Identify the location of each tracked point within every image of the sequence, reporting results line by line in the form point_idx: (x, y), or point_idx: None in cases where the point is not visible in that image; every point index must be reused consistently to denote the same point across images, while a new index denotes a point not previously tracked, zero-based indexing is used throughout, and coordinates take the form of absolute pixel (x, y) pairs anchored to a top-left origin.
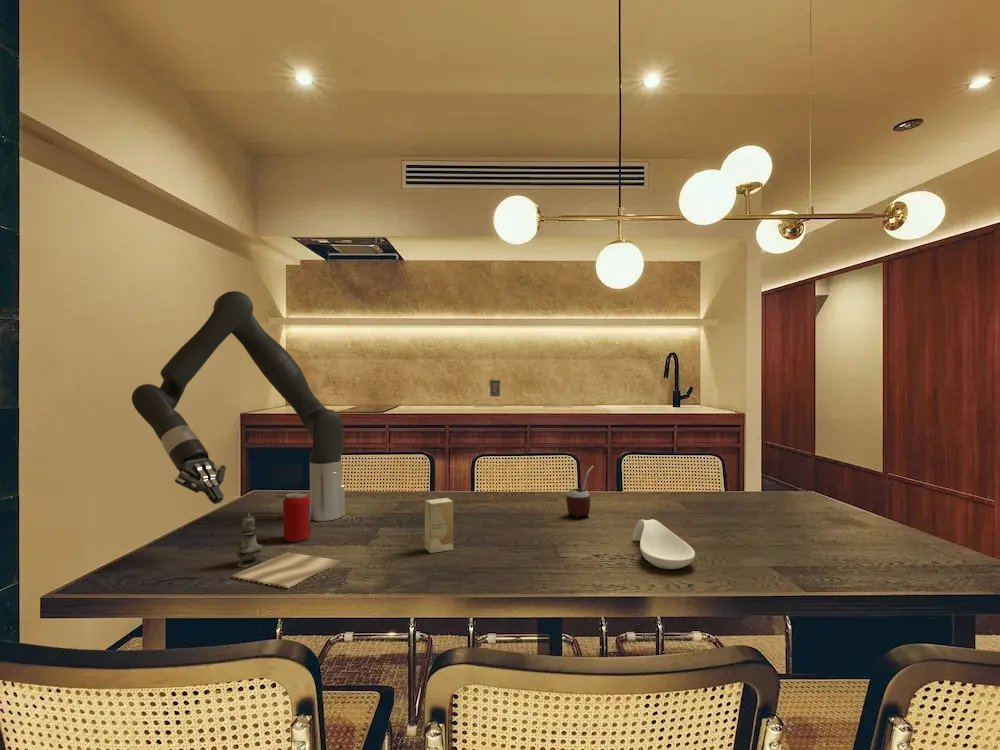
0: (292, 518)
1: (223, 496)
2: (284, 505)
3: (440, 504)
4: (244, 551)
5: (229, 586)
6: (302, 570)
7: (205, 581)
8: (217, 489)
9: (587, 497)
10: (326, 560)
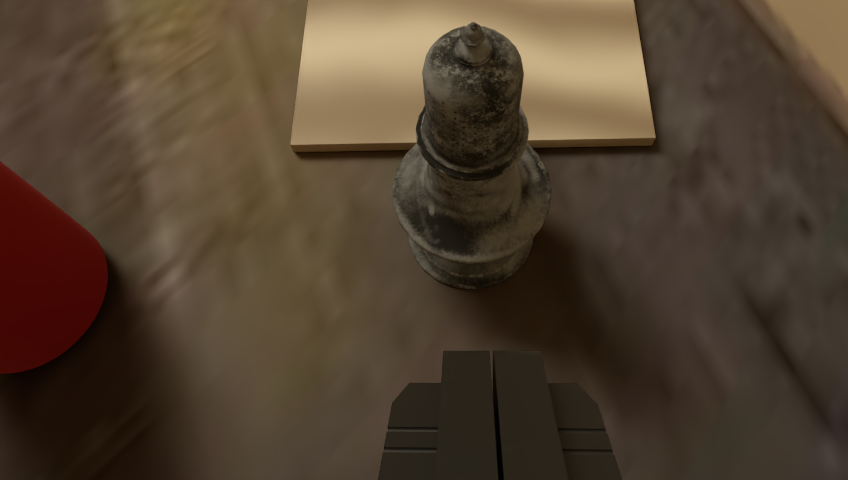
0: (17, 192)
1: (413, 383)
2: None
3: None
4: (533, 157)
5: (719, 82)
6: None
7: (750, 224)
8: (461, 453)
9: None
10: None
